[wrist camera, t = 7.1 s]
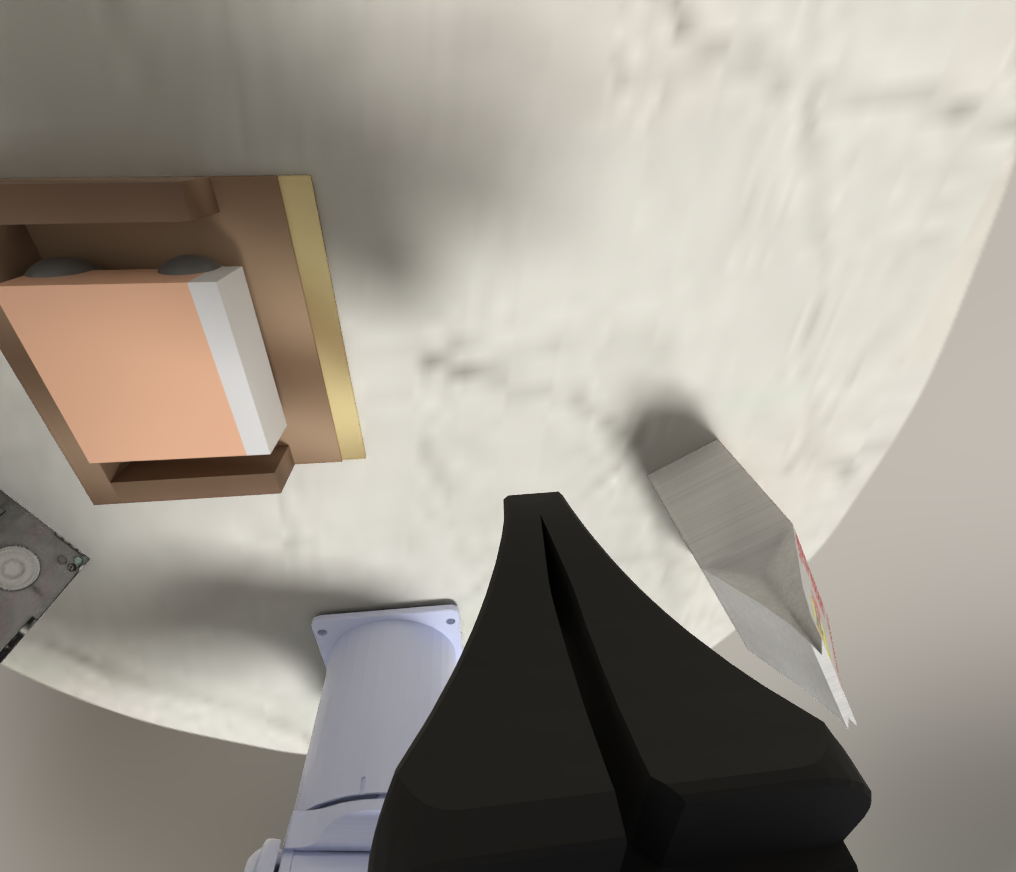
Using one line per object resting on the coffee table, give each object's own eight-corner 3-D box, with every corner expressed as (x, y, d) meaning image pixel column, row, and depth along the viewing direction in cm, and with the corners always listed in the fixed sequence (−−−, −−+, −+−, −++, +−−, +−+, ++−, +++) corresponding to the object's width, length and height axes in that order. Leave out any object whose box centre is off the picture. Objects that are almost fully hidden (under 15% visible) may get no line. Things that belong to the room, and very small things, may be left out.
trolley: (296, 421, 20) (273, 463, 17) (128, 429, 19) (79, 473, 17) (249, 247, 16) (211, 267, 14) (41, 250, 16) (-39, 272, 13)
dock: (366, 456, 21) (357, 488, 19) (127, 470, 20) (94, 505, 19) (310, 175, 15) (290, 180, 13) (-27, 179, 15) (-99, 185, 13)
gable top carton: (692, 554, 27) (803, 745, 18) (646, 475, 23) (756, 665, 15) (755, 524, 26) (900, 710, 18) (717, 438, 23) (874, 616, 14)
